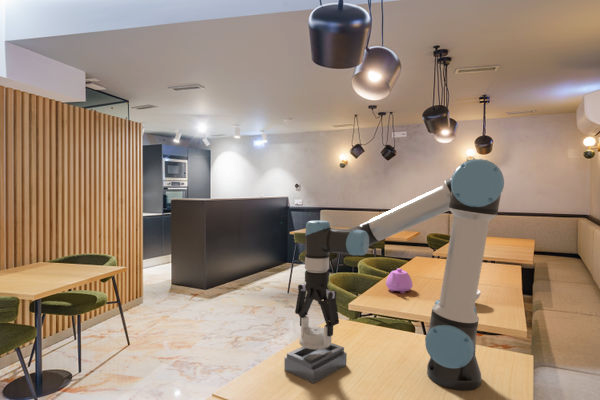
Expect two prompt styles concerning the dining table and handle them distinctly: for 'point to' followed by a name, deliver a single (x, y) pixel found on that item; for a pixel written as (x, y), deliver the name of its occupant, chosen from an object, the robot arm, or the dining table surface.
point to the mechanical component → (313, 338)
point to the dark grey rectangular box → (315, 362)
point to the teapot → (399, 281)
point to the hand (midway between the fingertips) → (315, 341)
